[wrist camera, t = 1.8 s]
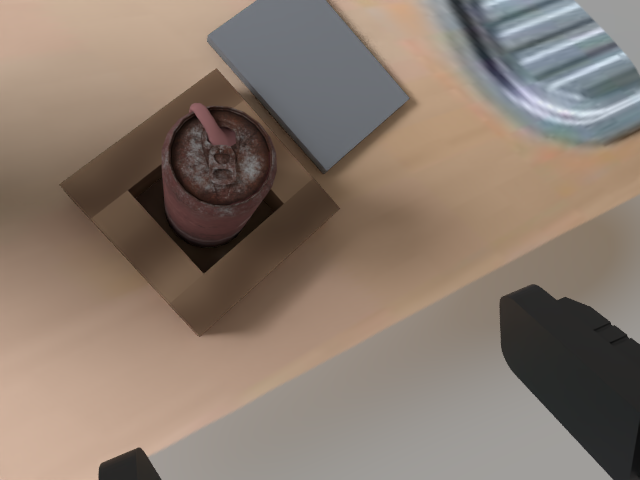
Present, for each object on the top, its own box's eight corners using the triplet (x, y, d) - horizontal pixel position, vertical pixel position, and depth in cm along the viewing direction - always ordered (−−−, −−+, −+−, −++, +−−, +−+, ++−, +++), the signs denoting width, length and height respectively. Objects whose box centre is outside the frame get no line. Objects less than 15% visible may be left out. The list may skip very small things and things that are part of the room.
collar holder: (69, 196, 39) (59, 184, 36) (213, 87, 43) (216, 68, 40) (197, 335, 40) (199, 336, 37) (327, 217, 44) (340, 208, 41)
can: (213, 152, 42) (231, 73, 29) (262, 218, 43) (302, 170, 29) (146, 195, 41) (132, 133, 27) (197, 264, 41) (208, 236, 27)
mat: (207, 41, 43) (207, 35, 43) (297, -23, 46) (299, -31, 45) (323, 174, 44) (326, 170, 43) (404, 102, 47) (409, 98, 46)
